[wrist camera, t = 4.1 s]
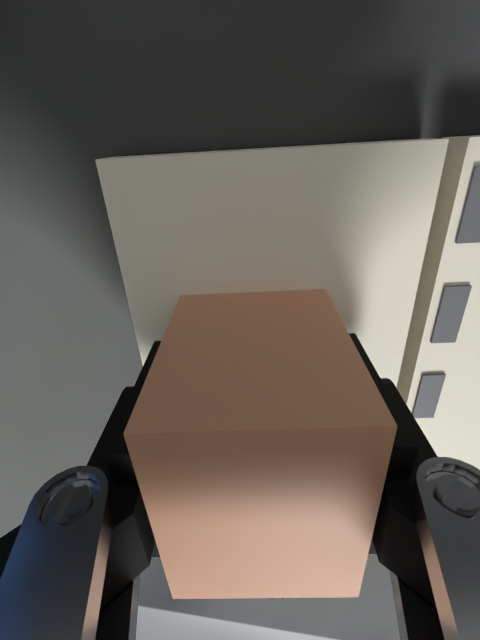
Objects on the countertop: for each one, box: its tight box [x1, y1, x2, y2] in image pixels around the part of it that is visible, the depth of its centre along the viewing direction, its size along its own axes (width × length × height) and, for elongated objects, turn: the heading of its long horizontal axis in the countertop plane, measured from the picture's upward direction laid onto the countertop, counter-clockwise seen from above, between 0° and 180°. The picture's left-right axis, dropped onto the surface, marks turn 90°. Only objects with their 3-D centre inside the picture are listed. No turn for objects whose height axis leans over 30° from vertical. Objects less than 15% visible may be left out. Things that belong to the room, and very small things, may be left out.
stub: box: [95, 139, 449, 599], centre depth 9 cm, size 8×12×6 cm, turn 3°
